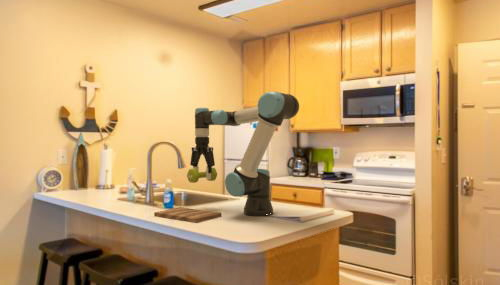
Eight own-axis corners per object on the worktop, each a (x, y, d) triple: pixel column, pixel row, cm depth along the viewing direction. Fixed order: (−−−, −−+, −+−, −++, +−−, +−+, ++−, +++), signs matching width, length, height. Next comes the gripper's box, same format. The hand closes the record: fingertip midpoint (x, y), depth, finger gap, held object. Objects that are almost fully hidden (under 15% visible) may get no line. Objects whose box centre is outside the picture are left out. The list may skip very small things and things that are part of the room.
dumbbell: (195, 183, 189) (194, 169, 189) (185, 182, 194) (185, 168, 194) (218, 180, 201) (218, 167, 201) (209, 180, 206) (209, 167, 206)
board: (221, 216, 182) (221, 212, 182) (196, 222, 167) (196, 218, 167) (180, 210, 198) (180, 207, 198) (154, 216, 183) (154, 212, 183)
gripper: (221, 136, 195) (222, 179, 195) (193, 137, 207) (193, 177, 207) (212, 136, 189) (212, 180, 189) (183, 137, 201) (183, 178, 201)
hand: (202, 179), depth 198 cm, fingers closed on dumbbell, 8 cm apart
